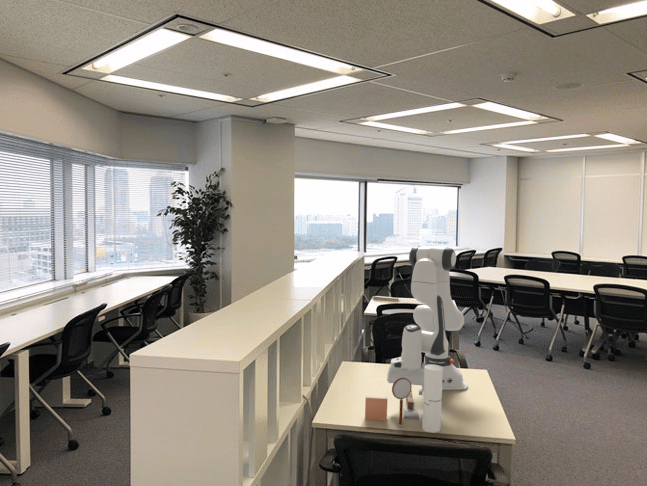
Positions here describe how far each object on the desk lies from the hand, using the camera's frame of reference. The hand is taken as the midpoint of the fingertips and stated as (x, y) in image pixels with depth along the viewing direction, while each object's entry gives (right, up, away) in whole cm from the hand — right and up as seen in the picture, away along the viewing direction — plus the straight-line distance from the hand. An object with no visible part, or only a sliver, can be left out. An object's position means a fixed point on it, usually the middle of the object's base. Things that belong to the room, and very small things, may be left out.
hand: (409, 393), depth 218 cm
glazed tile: (-16, -7, -11) cm, 20 cm away
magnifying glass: (-7, -8, -18) cm, 21 cm away
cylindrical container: (+5, -8, -19) cm, 21 cm away
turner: (0, -7, +1) cm, 7 cm away
